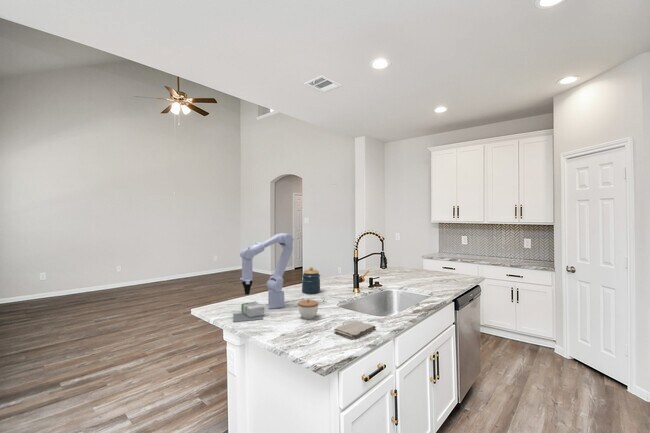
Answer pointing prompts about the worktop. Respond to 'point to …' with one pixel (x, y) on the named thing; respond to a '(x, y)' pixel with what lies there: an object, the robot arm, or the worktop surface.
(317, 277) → the canister
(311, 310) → the lidded jar
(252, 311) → the ink box
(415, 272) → the worktop surface
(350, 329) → the washcloth
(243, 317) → the mat
